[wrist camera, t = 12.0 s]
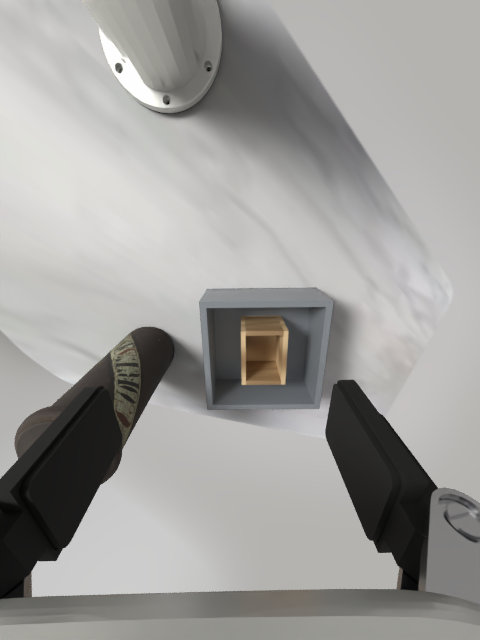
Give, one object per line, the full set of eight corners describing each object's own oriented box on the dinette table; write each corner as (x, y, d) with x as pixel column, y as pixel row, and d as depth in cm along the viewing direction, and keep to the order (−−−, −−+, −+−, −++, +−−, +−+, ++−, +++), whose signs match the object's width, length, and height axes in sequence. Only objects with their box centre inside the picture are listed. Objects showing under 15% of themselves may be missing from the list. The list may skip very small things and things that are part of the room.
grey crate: (207, 288, 34) (199, 301, 27) (315, 287, 34) (333, 300, 27) (213, 380, 39) (207, 409, 33) (306, 379, 39) (319, 408, 33)
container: (184, 337, 37) (125, 445, 18) (166, 380, 39) (97, 512, 21) (132, 315, 35) (8, 406, 17) (116, 361, 38) (-4, 483, 19)
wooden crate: (240, 315, 34) (240, 331, 29) (280, 315, 34) (288, 330, 29) (241, 362, 37) (241, 384, 32) (278, 361, 37) (285, 384, 31)
